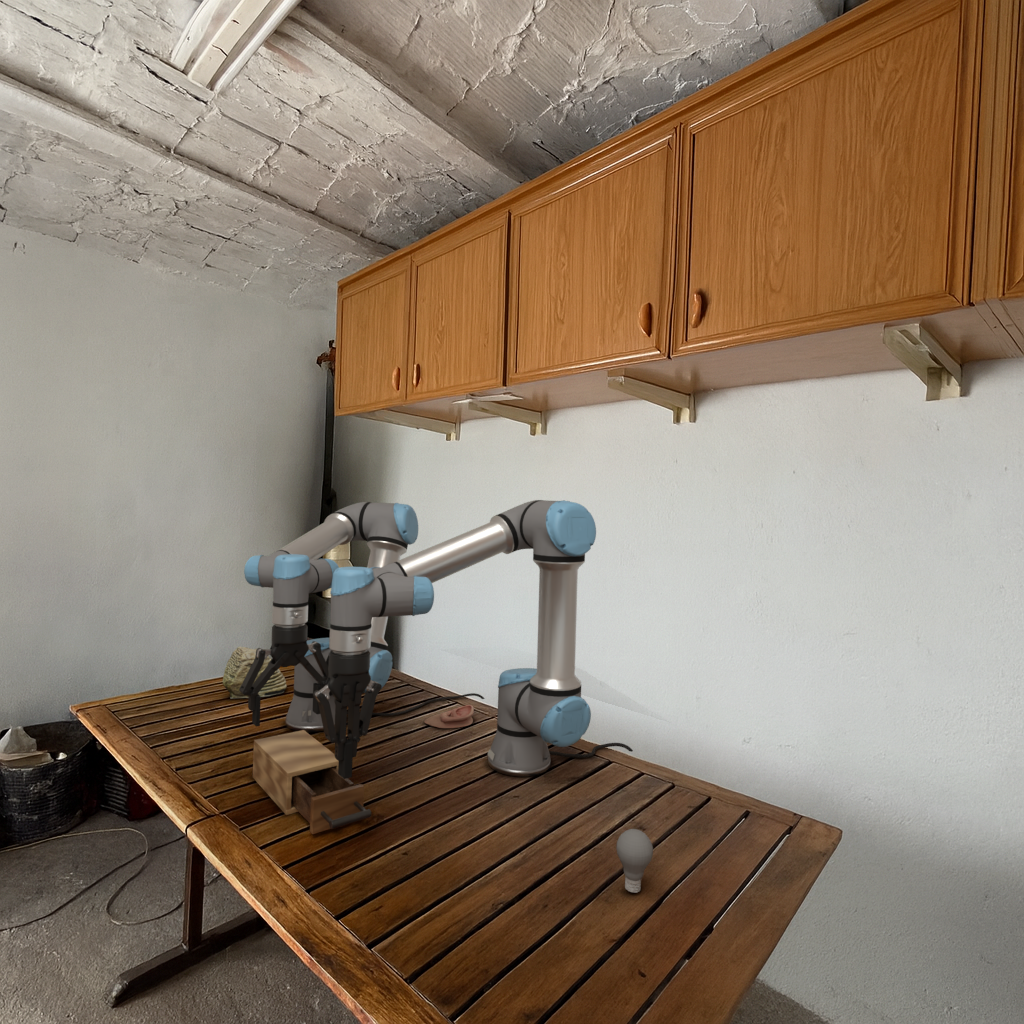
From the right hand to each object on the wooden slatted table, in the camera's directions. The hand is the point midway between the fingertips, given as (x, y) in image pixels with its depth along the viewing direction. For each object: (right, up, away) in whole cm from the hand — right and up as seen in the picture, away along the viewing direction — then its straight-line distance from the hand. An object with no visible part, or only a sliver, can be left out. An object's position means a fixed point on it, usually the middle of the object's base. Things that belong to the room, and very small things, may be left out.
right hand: (344, 775), depth 119 cm
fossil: (-49, -8, +79) cm, 94 cm away
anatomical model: (+13, -11, +63) cm, 65 cm away
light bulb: (+51, -14, -13) cm, 55 cm away
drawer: (-6, -10, +7) cm, 14 cm away
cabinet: (-16, -11, +18) cm, 26 cm away
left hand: (-19, +3, +23) cm, 30 cm away
